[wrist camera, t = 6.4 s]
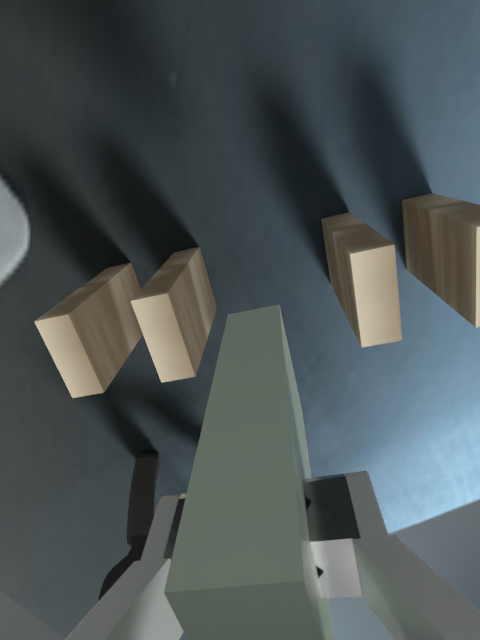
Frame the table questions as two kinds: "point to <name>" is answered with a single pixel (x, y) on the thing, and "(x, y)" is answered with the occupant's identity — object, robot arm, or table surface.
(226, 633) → the domino
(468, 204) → the domino
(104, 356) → the domino
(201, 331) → the domino
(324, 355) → the table surface
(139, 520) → the hand grip strengthener
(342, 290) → the domino
